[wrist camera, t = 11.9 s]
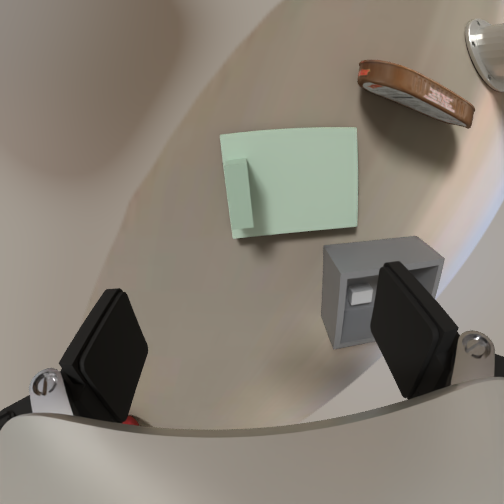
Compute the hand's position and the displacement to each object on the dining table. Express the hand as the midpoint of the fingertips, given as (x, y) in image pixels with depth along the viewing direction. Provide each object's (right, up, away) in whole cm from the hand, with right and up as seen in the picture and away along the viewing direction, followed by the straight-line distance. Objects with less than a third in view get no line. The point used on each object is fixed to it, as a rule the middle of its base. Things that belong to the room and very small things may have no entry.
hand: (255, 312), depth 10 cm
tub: (+16, -1, +26) cm, 31 cm away
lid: (+4, +10, +21) cm, 24 cm away
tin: (+18, +21, +16) cm, 32 cm away
